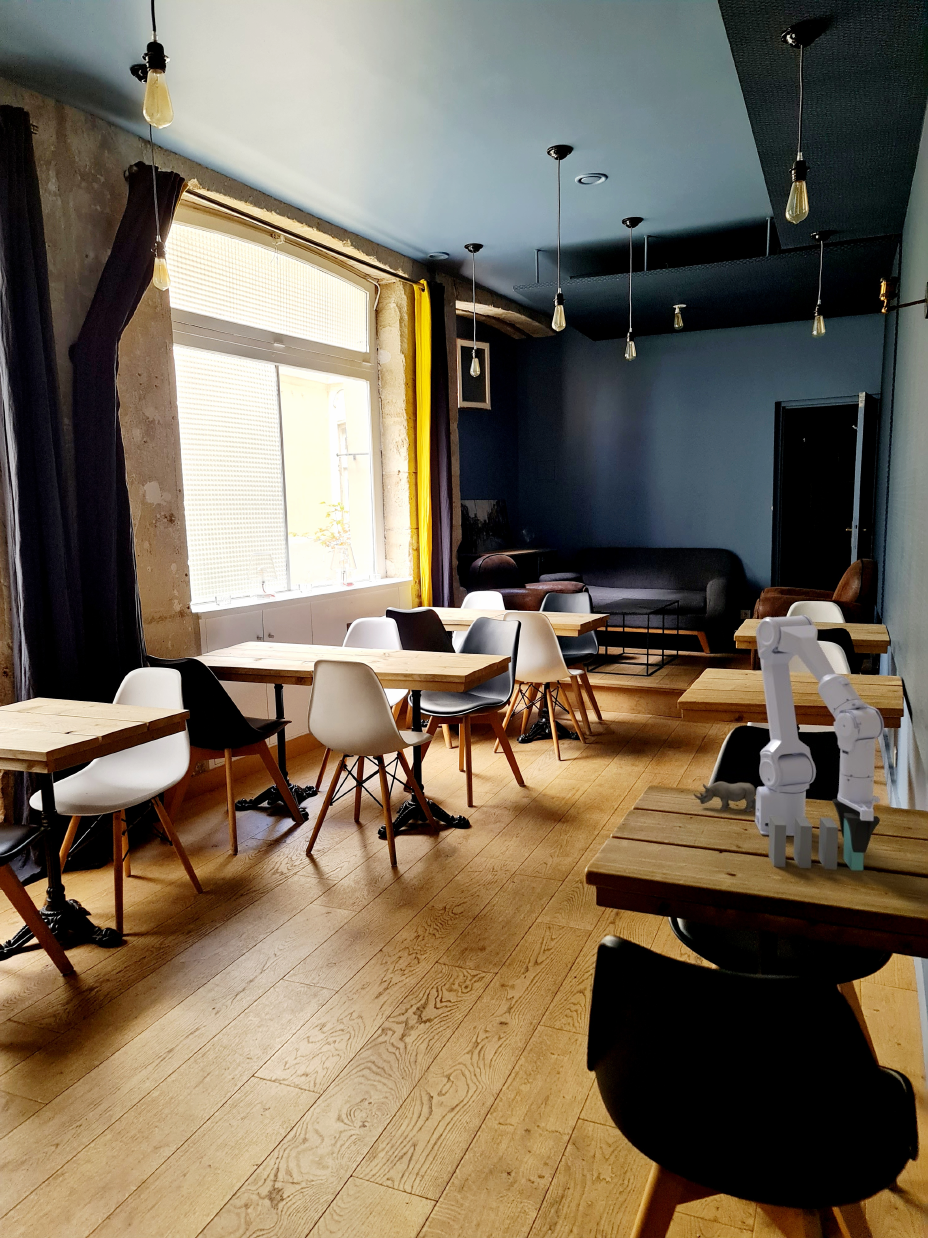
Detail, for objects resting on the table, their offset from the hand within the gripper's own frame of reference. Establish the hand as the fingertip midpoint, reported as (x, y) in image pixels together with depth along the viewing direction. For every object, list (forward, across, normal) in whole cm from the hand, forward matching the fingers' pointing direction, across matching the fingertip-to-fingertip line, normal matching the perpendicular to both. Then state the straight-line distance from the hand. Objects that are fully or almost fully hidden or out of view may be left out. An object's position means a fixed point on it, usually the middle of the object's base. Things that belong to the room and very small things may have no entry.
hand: (853, 845), depth 158 cm
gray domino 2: (+4, 0, +9) cm, 10 cm away
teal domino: (+4, 0, 0) cm, 4 cm away
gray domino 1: (+4, 0, +14) cm, 14 cm away
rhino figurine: (+4, +29, +19) cm, 35 cm away
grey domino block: (+4, 0, +4) cm, 6 cm away
